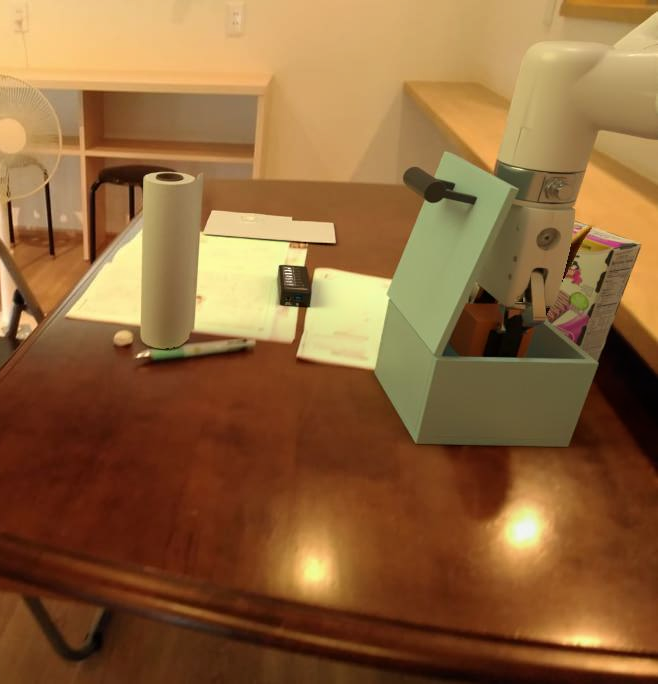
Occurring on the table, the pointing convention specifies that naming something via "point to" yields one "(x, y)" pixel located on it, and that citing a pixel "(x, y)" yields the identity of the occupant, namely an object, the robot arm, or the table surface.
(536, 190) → the robot arm
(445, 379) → the box
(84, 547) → the table surface
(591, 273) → the candy bar box
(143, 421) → the table surface
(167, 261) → the paper towel roll
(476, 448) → the table surface
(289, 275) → the multiport hub
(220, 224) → the paper
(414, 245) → the freezer lid
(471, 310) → the block
